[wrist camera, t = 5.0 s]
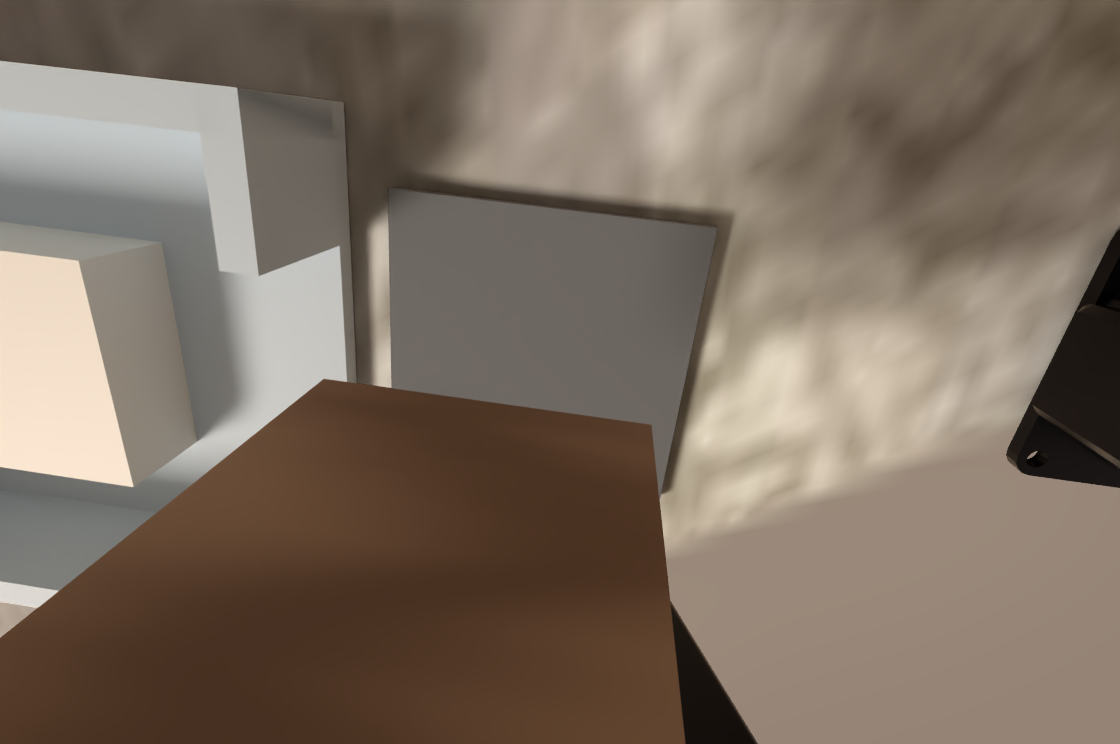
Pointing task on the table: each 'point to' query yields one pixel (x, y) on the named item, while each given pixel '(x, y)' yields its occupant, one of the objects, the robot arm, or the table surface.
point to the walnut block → (373, 590)
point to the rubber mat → (545, 306)
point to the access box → (153, 296)
